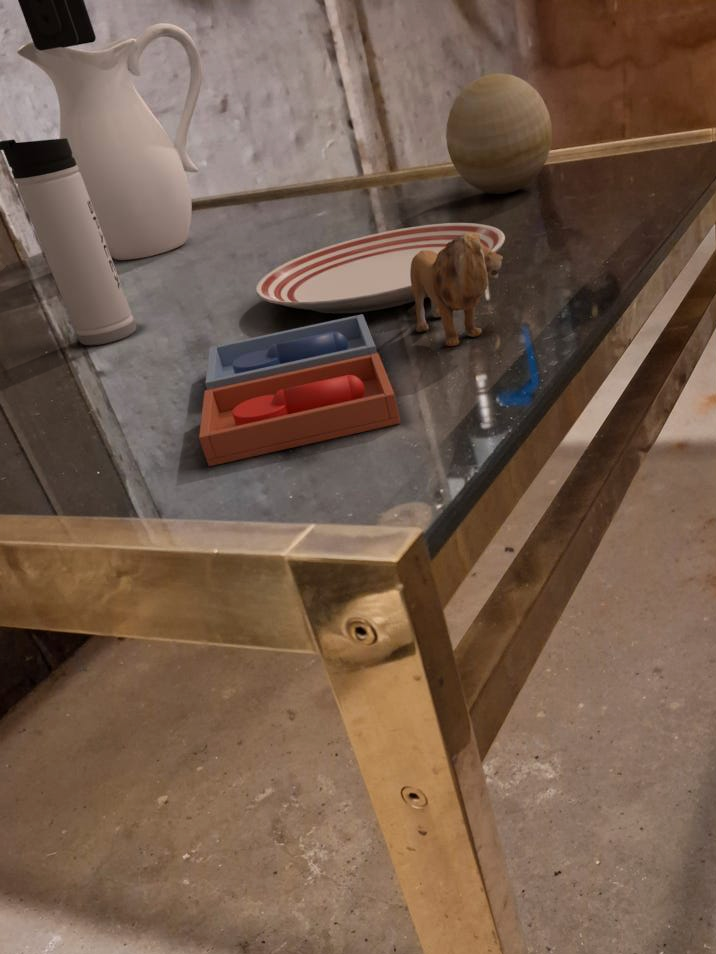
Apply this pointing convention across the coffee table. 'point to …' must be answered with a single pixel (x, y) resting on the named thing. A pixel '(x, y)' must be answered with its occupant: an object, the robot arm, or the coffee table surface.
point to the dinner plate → (364, 269)
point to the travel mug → (71, 238)
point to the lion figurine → (453, 282)
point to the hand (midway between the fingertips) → (68, 45)
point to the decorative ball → (499, 133)
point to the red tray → (298, 428)
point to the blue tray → (225, 354)
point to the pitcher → (125, 141)
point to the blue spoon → (291, 351)
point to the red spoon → (299, 399)
